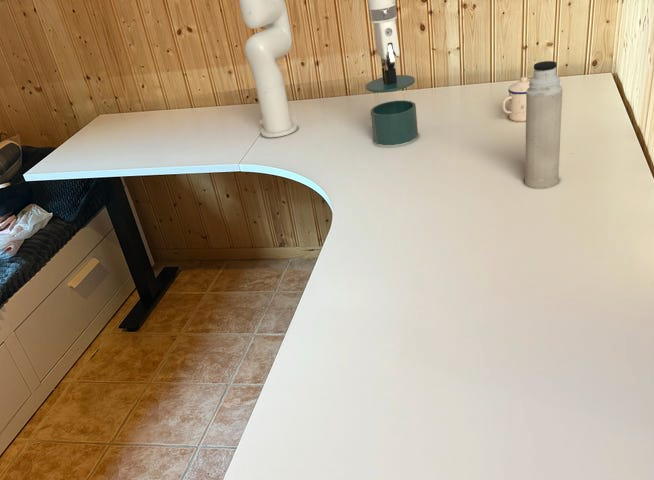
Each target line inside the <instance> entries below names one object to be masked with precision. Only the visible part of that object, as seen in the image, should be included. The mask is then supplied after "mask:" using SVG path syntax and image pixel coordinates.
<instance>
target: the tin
mask: <svg viewBox="0 0 654 480" xmlns="http://www.w3.org/2000/svg"><path fill="white" fill-rule="evenodd" d="M417 118H418V115H417V105H416V103H415V102H413V101H412V100H405V99H403V100H391V101H386V102H383V103H379V104H377V105H375V106H373V107H372V108H371V109H370V119H371V127H372V135H373V142H374V143H375V144H377V145H381V146H397V145H402V144H405V143H409V142H412V141H413V140H415V139H416V138H417V137H418V136H419V129H418V119H417Z"/></svg>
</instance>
